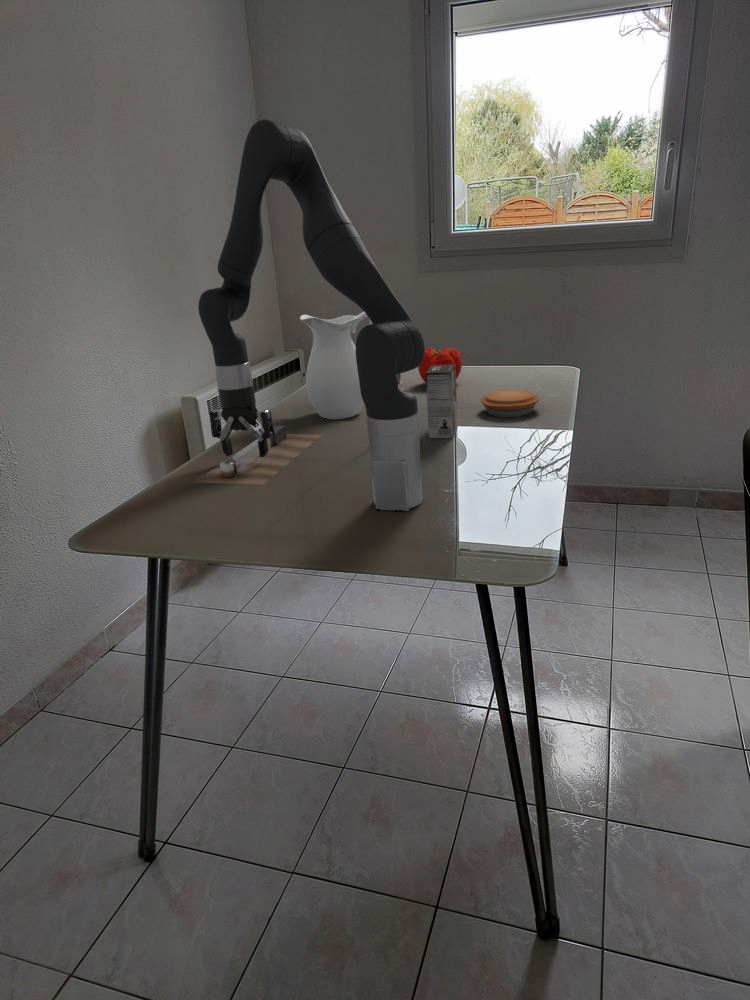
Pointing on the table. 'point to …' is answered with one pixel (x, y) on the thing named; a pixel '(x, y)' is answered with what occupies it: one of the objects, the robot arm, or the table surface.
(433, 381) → the coffee box
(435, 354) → the tomato
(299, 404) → the table surface
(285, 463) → the board
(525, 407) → the pie
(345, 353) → the pitcher
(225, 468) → the arm
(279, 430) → the arm
